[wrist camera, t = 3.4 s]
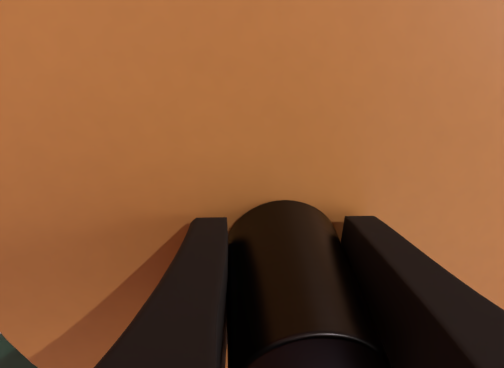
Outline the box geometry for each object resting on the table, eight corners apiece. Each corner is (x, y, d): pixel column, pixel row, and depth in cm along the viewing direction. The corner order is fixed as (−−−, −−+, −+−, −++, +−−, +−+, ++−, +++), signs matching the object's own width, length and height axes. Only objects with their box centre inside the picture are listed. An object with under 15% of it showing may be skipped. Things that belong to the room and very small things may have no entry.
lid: (471, 392, 14) (573, 572, 10) (36, 411, 13) (-45, 620, 9) (683, -113, 8) (1209, -177, 4) (-146, -155, 7) (-724, -313, 3)
